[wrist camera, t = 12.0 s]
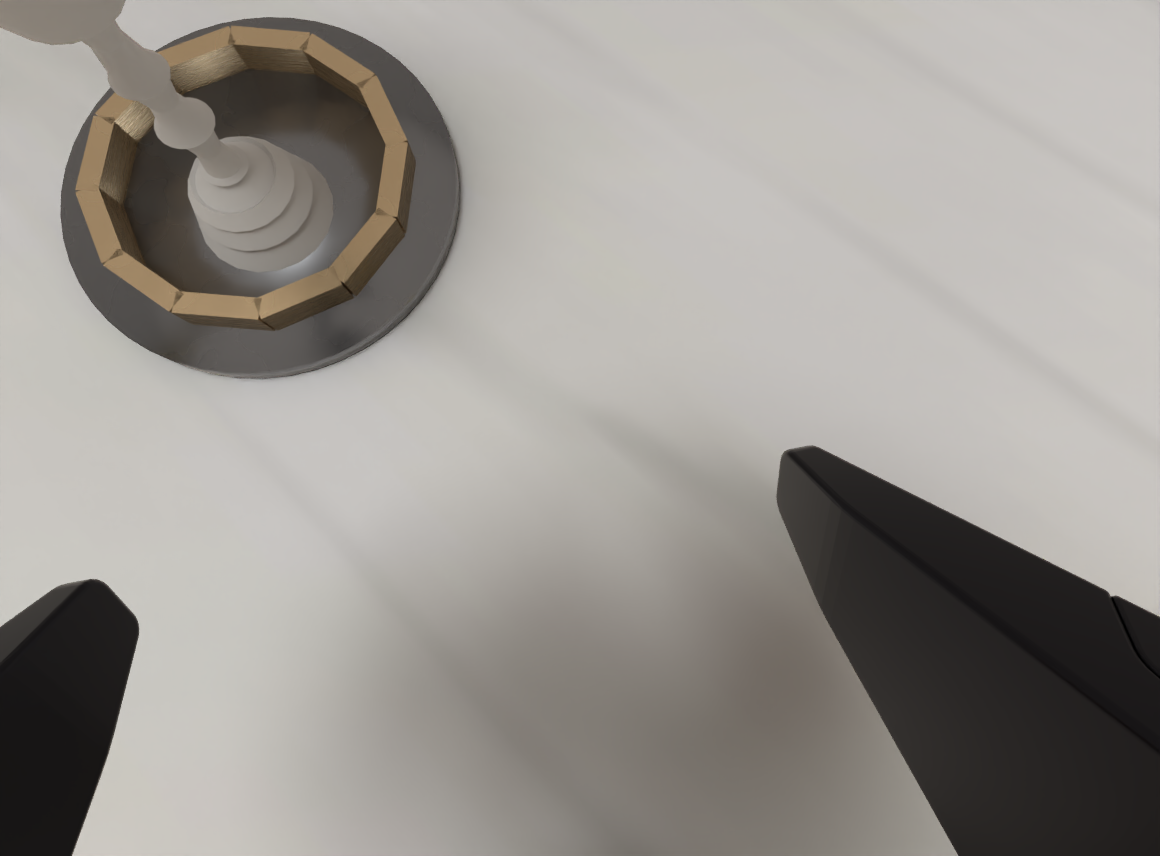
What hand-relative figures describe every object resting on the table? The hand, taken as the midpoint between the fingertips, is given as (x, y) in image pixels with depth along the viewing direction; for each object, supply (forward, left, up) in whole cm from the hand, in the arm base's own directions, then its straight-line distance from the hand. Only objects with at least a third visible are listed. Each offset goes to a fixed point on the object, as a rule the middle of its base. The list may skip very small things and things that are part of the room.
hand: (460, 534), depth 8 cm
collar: (+5, +16, -14) cm, 22 cm away
